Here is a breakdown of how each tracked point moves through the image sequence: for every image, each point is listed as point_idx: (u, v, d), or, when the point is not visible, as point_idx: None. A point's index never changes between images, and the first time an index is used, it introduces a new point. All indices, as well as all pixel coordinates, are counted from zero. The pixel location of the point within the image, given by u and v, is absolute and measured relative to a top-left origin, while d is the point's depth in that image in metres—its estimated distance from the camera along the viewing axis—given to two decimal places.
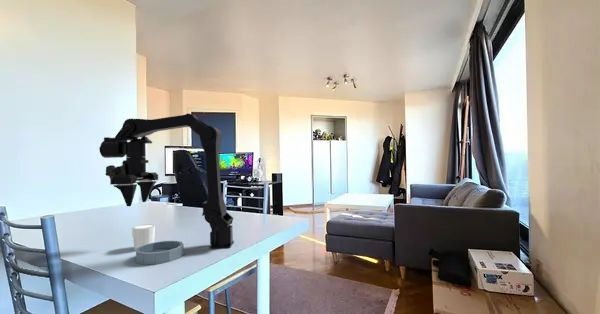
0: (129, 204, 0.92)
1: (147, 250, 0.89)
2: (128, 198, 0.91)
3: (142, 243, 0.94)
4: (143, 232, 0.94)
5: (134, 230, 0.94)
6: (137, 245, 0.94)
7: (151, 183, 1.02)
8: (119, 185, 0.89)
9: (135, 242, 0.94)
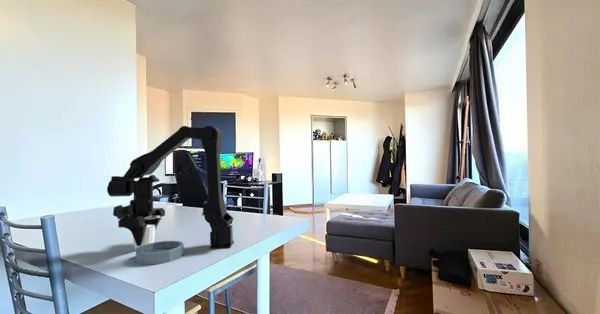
0: (139, 244, 0.93)
1: (147, 250, 0.89)
2: (138, 238, 0.92)
3: (142, 243, 0.94)
4: None
5: None
6: None
7: (156, 221, 1.00)
8: (130, 226, 0.90)
9: (135, 242, 0.94)
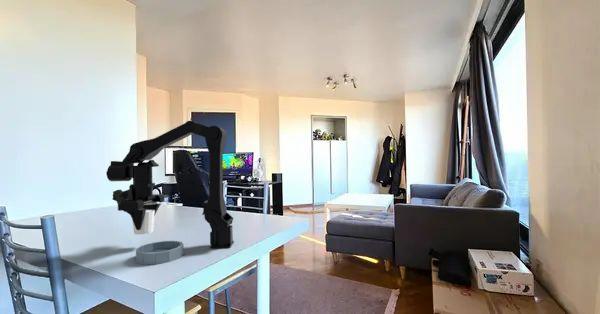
0: (139, 228, 0.93)
1: (147, 250, 0.89)
2: (138, 222, 0.92)
3: (142, 227, 0.94)
4: None
5: None
6: None
7: (156, 206, 1.00)
8: (129, 210, 0.90)
9: None
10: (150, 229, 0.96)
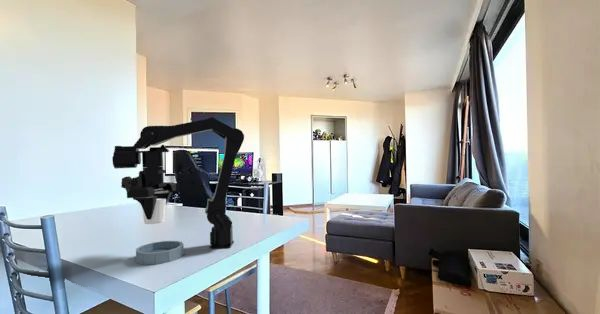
0: (149, 217, 0.87)
1: (147, 250, 0.89)
2: (148, 211, 0.86)
3: (152, 217, 0.87)
4: None
5: None
6: None
7: (167, 195, 0.94)
8: (139, 198, 0.84)
9: (145, 216, 0.88)
10: (161, 219, 0.89)
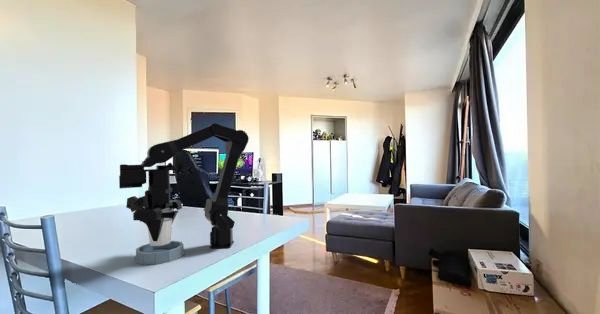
0: (156, 239, 0.83)
1: (147, 250, 0.89)
2: (155, 233, 0.83)
3: (159, 238, 0.84)
4: None
5: None
6: None
7: (173, 214, 0.91)
8: (145, 219, 0.80)
9: (151, 237, 0.84)
10: (168, 240, 0.86)
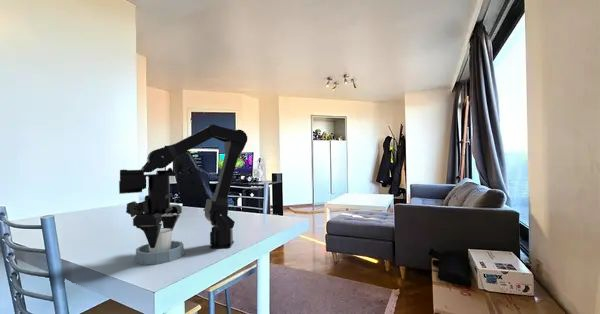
0: (153, 246, 0.82)
1: (147, 250, 0.89)
2: (152, 239, 0.81)
3: (159, 249, 0.84)
4: (160, 237, 0.84)
5: None
6: (153, 251, 0.84)
7: (175, 218, 0.92)
8: (143, 226, 0.79)
9: (151, 248, 0.84)
10: None
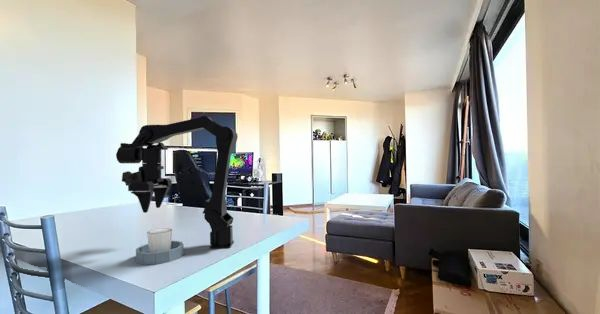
0: (145, 210, 0.92)
1: (147, 250, 0.89)
2: (145, 204, 0.91)
3: (159, 249, 0.84)
4: (160, 237, 0.84)
5: (150, 235, 0.84)
6: (153, 251, 0.84)
7: (165, 189, 1.02)
8: (137, 192, 0.89)
9: (151, 248, 0.84)
10: None
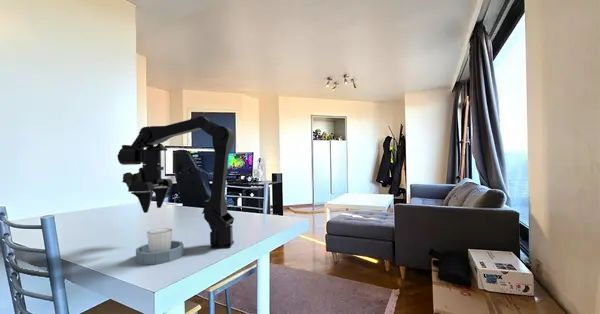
0: (146, 210, 0.94)
1: (147, 250, 0.89)
2: (145, 205, 0.93)
3: (159, 249, 0.84)
4: (160, 237, 0.84)
5: (150, 235, 0.84)
6: (153, 251, 0.84)
7: (166, 189, 1.04)
8: (137, 192, 0.91)
9: (151, 248, 0.84)
10: None
